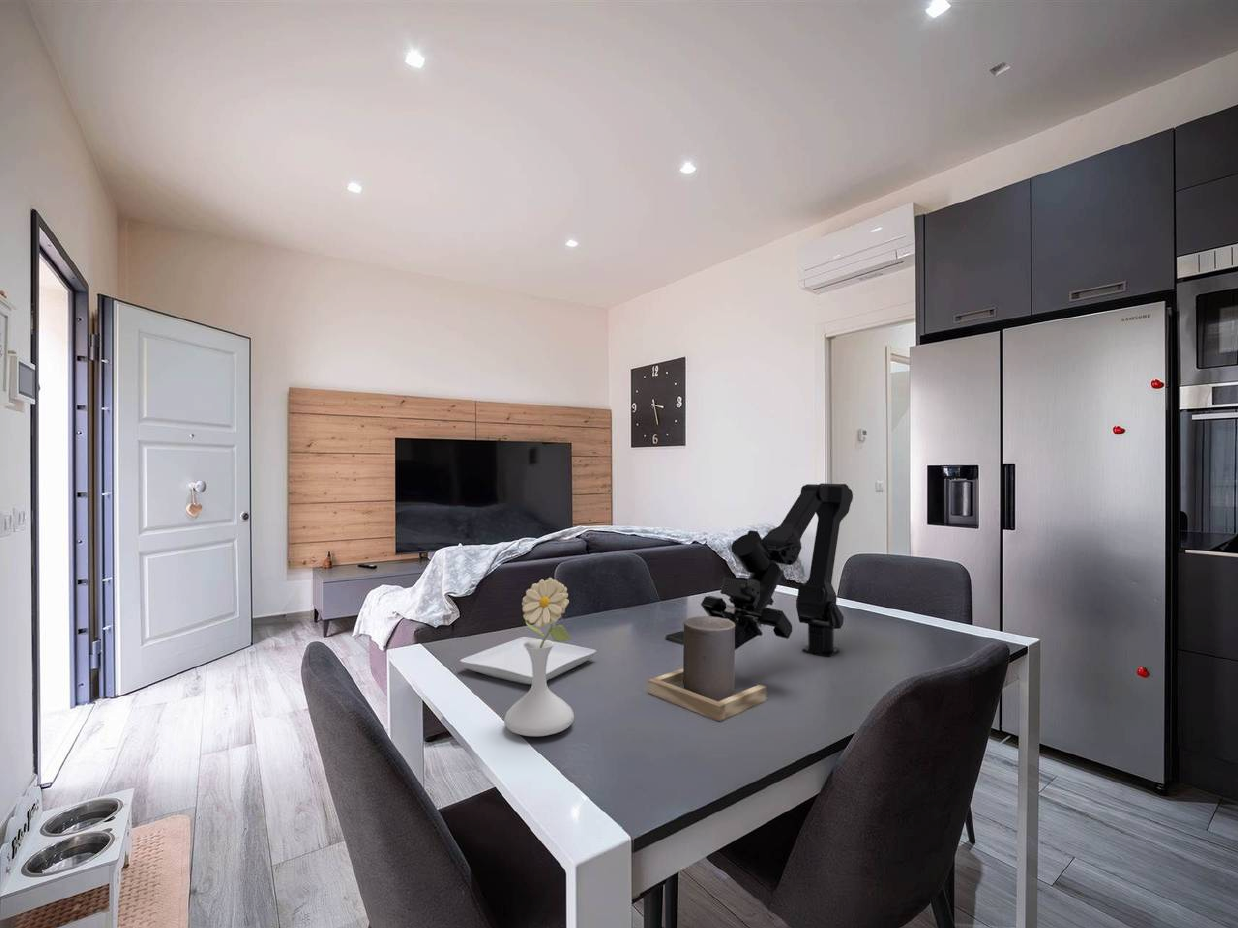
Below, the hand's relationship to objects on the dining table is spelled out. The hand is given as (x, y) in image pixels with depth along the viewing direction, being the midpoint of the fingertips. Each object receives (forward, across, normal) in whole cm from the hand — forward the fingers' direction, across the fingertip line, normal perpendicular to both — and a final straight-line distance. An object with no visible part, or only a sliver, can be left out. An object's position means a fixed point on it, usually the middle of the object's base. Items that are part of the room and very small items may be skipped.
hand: (726, 652), depth 115 cm
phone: (-8, -24, +19) cm, 31 cm away
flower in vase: (+31, -9, -21) cm, 38 cm away
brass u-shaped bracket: (+9, 0, +1) cm, 9 cm away
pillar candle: (+9, 0, +2) cm, 9 cm away
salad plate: (+20, -36, -10) cm, 42 cm away
